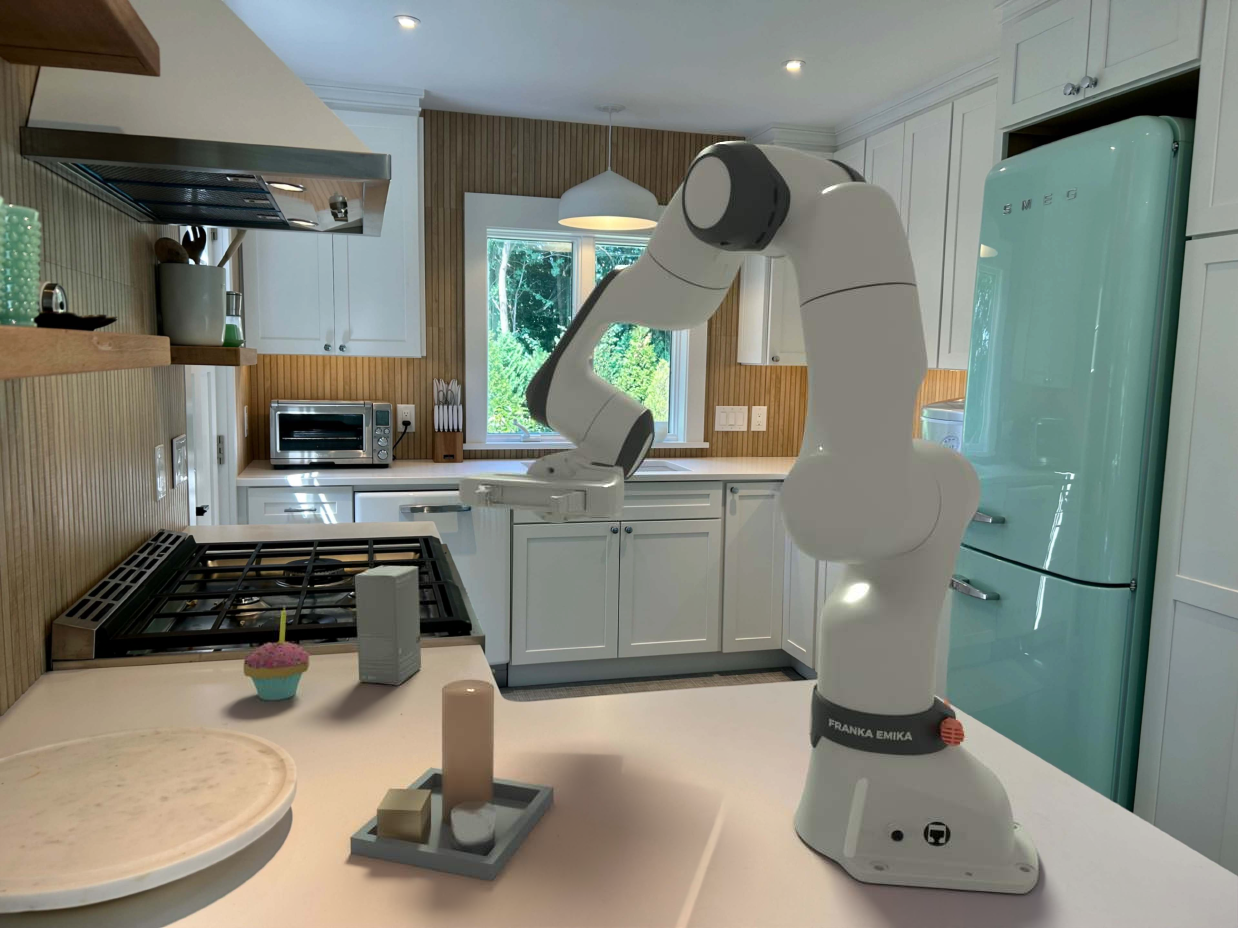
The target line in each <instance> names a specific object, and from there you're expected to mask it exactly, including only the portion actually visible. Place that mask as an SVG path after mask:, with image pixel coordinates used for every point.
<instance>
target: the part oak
mask: <svg viewBox="0 0 1238 928" xmlns="http://www.w3.org/2000/svg"><path fill="white" fill-rule="evenodd" d="M376 815H377V836H382V837H387V838H392V839H397V840H403V841H408V842H413V843H418V844H425V842H426V840H427V838H428V835H429V833H430V831H431V790H419V789H407V788H388V790H387V792H386V794H385V795H384V796H383V798H382V800H381V801H380V803H379V805H378V806H377V809H376Z"/></svg>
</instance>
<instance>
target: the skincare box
mask: <svg viewBox="0 0 1238 928" xmlns="http://www.w3.org/2000/svg"><path fill="white" fill-rule="evenodd" d="M354 583H355V586H354V587H355V605H356V606H355V609H356V631H357V632H356V634H357V637H356V638H357V656H358V658H357V660H358V661H357V662H358V681H359V682H363V683H364V682H365V683H373V684H374V683H377V684H387V685H393V686H399V685H401V684H402V683H404V682H405V681H407V679H408V678H409V677H411V676H412V675H413V674H415V673H416V672H417V671H419V670H420V669H421V668H422V652H421V651H422V650H421V649H422V648H421V629H420V627H421V626H420V625H421V624H420V623H421V621H420V618H421V617H420V596H419V595H420V594H419V593H420V591H419V590H420V589H419V587H420V586H419V566H412V565H411V566H410V565H409V566H408V565H407V566H406V565H403V566H401V565H380V566H377V567H374V568H368V569H366V570H365V571H362V572H361V573H357V574H355V575H354Z"/></svg>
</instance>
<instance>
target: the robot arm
mask: <svg viewBox="0 0 1238 928" xmlns="http://www.w3.org/2000/svg"><path fill="white" fill-rule="evenodd" d="M641 253H642V254H641V255H639V257H638V258H637V259H636V260H635V261H634V262H633V263H631V264H629V265H628V264H626V265H625V264H619V265H617V266H615V267H614V268H612V269H611V270H609V272H607V273H606V274H605V275H604V276H603V277H602V278H601V280H600V281H599V282H598V283H597V284H596V285H595V287H594V289H593V290H592V291H591V292H590V294H589V295H588V297H587V298H586V300H584V303H583V304H582V306H581V307H580V309H579V310H578V312H577V313H576V315H575V316H574V317H573V319H572V321H571V323H570V324H569V325H568V327H567V329H565V331H564V333H563V335H562V336H561V338H560V340H559V341H558V343H557V344H556V345H555V347H554V349H553V350H552V352H551V353H550V354H549V355H548V357H547V358H546V360H545V361H544V362H543V364H541V366H540V367H539V369H537V371H536V372H535V373H534V375H533V376H532V377H531V379H530V380H529V382H528V385H527V386H526V390H525V393H524V394H525V401H526V402H525V403H526V407H527V410H528V413H529V415H530V418H531V419H532V420H533V421H535V422H537V423H539V424H540V425H542V426H544V427H546V428H547V429H549V430H550V431H551V430H552V431H553V432H554V431H555V432H556V433H557V434H559V435H560V436H562V437H563V438H565V439H566V440H568V441H569V442H570V443H572V444H573V445H575V446H576V448H572V449H569V450H566V451H559V452H555V453H552V454H548V455H544V456H542V457H539V458H538V459H536V460H535V461H534V462H533V463H532V464H531V465H530V466H529V468H528V469H527V471H526V473H517V472H516V473H513V472H512V473H511V472H482V473H481V472H480V473H475V474H469V475H464V476H461V478H460V480H459V485H458V486H459V487H458V495H459V502H460V504H461V505H462V506H464V507H474V508H475V507H476V508H477V507H478V508H488V509H502V510H503V509H505V510H518V511H519V510H520V511H531V512H532V513H533V514H534V515H535V516H536V517H538V518H540V519H542V520H544V521H546V522H548V523H552V524H561V523H562V524H563V523H566V522H569V521H578V520H582V519H587V518H588V519H589V518H590V519H598V518H599V519H601V518H602V519H611V518H613V519H614V518H619V517H621V516H623V510H624V504H625V503H624V499H625V481H627V480H629V479H630V478H631V477H633V475H634V474H635V473H637V471H638V470H639V468H640V467H641V465H643V463H644V461H645V460H646V458H647V456H648V455H649V453H650V450H651V448H652V446H653V445H654V442H655V441H654V440H655V433H656V432H655V431H656V430H655V420H654V417H653V412H652V411H651V409H650V408H648V407H647V406H646V405H644V404H643V403H641V402H640V401H638V400H636V399H635V398H634V397H632V396H630V395H629V394H627V393H626V392H625V391H622V390H621V389H619V388H618V387H616V386H615V385H613V384H612V383H610V382H608V381H607V380H605V379H604V378H602V377H601V376H599V375H598V374H596V373H595V372H594V371H593V370H592V368H590V365H589V363H588V359H589V358H590V356H591V355H592V353H593V352H594V350H595V349H596V347H597V346H598V345H599V343H600V341H601V340H602V339H603V338H604V336H605V334H606V333H607V331H608V330H609V328H610V327H611V325H612V324H625V325H633V326H639V327H643V328H648V329H652V330H656V331H663V332H664V331H665V332H678V331H679V332H680V331H684V330H685V331H687V330H689V329H693V328H696V327H699V326H700V325H702V324H704V323H705V322H707V321H708V320H709V319H711V317H713V315H714V314H715V312H716V311H717V310H718V309H719V307H720V305H721V304H722V302H723V301H724V300H725V298H726V296H727V294H728V292H729V290H730V288H731V286H732V285H733V283H734V280H735V279H736V276H737V274H738V273H739V271H740V267H741V266H742V263H743V262H744V260H745V258H746V257H747V256H748V254H752V255H758V256H763V257H765V258H770V259H778V260H788V261H790V262H791V264H792V267H793V269H794V272H795V278H796V283H797V293H798V302H799V303H798V304H799V308H800V309H799V311H800V319H801V327H802V328H801V329H802V334H803V341H804V343H803V344H804V352H805V360H806V361H805V362H806V369H807V381H808V382H807V383H808V385H807V386H808V393H807V410H806V417H805V423H804V424H805V425H804V430H803V436H802V437H803V438H802V441H801V446H800V450H799V453H798V456H797V458H796V460H795V463H794V464H793V466H792V467H791V469H790V470H789V471H788V473H787V475H786V477H785V478H784V480H783V483H782V486H781V487H780V492H779V498H778V499H779V500H778V508H779V517H780V520H781V524H782V527H783V529H784V532H785V533H786V535H787V537H788V539H789V540H790V541H791V543H792V544H793V545H794V546H795V547H796V549H798V550H799V551H800V552H802V553H803V554H804V555H806V556H808V557H810V558H812V559H814V560H818V561H820V562H821V561H822V562H828V563H833V564H834V563H835V564H841V565H842V564H843V568H842V570H841V573H840V575H839V578H838V580H837V583H836V585H835V587H834V589H833V590H832V592H831V594H830V595H829V597H828V598H827V599H826V601H825V603H824V605H823V607H822V609H821V612H820V613H821V614H820V618H819V639H818V656H817V657H818V662H817V682H816V683H815V685H814V686H813V690H812V695H811V697H810V705H809V707H810V708H809V728H808V729H809V731H808V732H809V734H808V736H809V735H810V737H809V740H810V744H811V752H810V757H809V763H808V768H807V769H808V770H807V775H806V777H805V778H806V779H805V783H804V787H803V791H802V794H801V798H800V801H799V804H798V807H797V809H796V812H795V814H794V818H793V824H794V828H795V830H796V832H797V834H798V835H799V836H800V838H801V839H802V840H803V841H804V842H805V843H806V844H808V846H810V847H811V848H813V849H814V850H815V851H817V852H819V853H821V854H822V855H825V857H828V858H830V859H832V860H833V861H835V862H837V863H838V864H839V865H840V866H841V867H842V868H843V869H844V870H845V871H846V872H847V873H848V874H850V876H852V877H853V878H855V879H856V880H858V881H860V882H862V883H863V882H864V883H868V884H882V885H884V884H885V885H893V886H895V885H896V886H897V885H898V886H906V887H907V886H909V887H924V888H935V889H936V888H937V889H951V890H963V891H964V890H965V891H977V892H993V893H1003V894H1005V893H1008V894H1027V893H1029V892H1030V891H1031V890H1033V889H1034V887H1035V886H1036V884H1037V883H1038V879H1039V877H1040V875H1039V874H1040V870H1039V869H1040V868H1039V867H1040V865H1039V863H1040V862H1039V855H1038V852H1037V848H1036V845H1035V843H1034V841H1033V839H1032V837H1031V836H1030V834H1029V832H1028V831H1027V830H1026V829H1025V827H1024V826H1022V824H1021V823H1020V822H1018V821H1017V820H1016V819H1015V818H1014V815H1013V811H1012V807H1011V806H1012V805H1011V801H1010V799H1009V796H1008V794H1007V793H1008V792H1007V791H1006V789H1005V788H1004V785H1003V783H1002V782H1001V780H1000V779H999V778H998V776H997V775H996V774H995V773H994V771H993V770H991V769H990V768H989V767H987V766H986V765H985V764H984V763H983V762H981V760H979V758H977V757H975V756H974V755H973V754H972V753H971V752H969V751H968V750H967V749H966V748H965V747H964V746H962V745H961V743H963V742H964V741H965V740H964V739H965V732H964V727H963V724H962V723H961V722H960V721H959V720H958V719H957V717H956V712H955V710H954V709H952V707H951V704H950V703H949V701H948V699H946V698H944V701H943V700H941V699H939V698H938V697H936V696H935V694H936V693H935V692H936V679H937V666H938V654H939V653H938V652H939V641H940V640H939V637H940V628H941V622H942V616H943V611H944V607H945V604H946V600H947V595H948V591H949V588H950V585H951V580H952V578H953V574H954V571H955V566H956V563H957V559H958V555H959V554H960V553H959V552H960V549H961V545H962V541H963V538H964V535H965V533H966V531H967V528H968V526H969V524H970V523H971V522H972V519H973V518H974V516H975V515H976V513H977V510H978V508H979V506H980V501H981V495H982V492H981V491H982V490H981V482H980V479H979V475H978V473H977V470H976V468H975V467H974V465H973V464H972V463H971V461H970V460H969V459H968V458H967V457H966V456H965V455H963V454H962V453H960V451H959V450H956V449H953V448H952V447H950V446H947V445H945V444H942V443H939V442H936V441H932V440H929V439H925V438H914V437H913V434H914V433H913V431H914V419H915V411H916V403H917V399H918V395H919V391H920V388H921V385H922V384H923V383H924V380H925V378H926V376H927V374H928V373H927V372H928V367H929V362H928V354H927V348H926V340H925V333H924V327H923V326H924V325H923V318H922V312H921V305H920V304H921V303H920V298H919V297H920V296H919V290H918V285H917V284H918V283H917V279H916V273H915V267H914V263H913V257H912V253H911V248H910V244H909V241H908V237H907V234H906V230H905V227H904V224H903V221H902V218H901V216H900V213H899V210H898V207H897V205H896V203H895V200H894V198H893V197H892V195H890V193H889V192H887V191H886V189H884V188H882V187H880V186H879V185H876V184H873V183H869V182H867V181H866V179H865V178H864V177H863V175H861V174H860V173H859V172H858V171H857V170H856V169H854V168H852V167H851V166H849V164H845V163H843V162H841V161H839V160H836V159H831V158H829V159H828V158H827V159H826V158H823V157H820V156H817V155H815V154H812V153H807V152H804V151H801V150H798V149H797V148H793V147H789V146H783V145H782V146H781V145H774V144H757V143H756V144H755V143H752V142H750V141H746V140H730V141H722V142H717V143H715V144H711V145H709V146H707V147H705V148H704V149H702V150H701V151H700V152H699V153H698V154H697V155H696V157H695V158H694V159H693V161H692V162H691V164H690V165H689V168H688V170H687V172H686V175H685V178H684V181H683V182H682V183H681V185H680V186H679V187H678V188H677V190H676V192H675V193H674V195H673V196H672V197H671V199H670V200H669V203H668V204H667V206H666V207H665V209H664V211H663V212H662V214H661V216H660V218H659V220H658V221H657V224H656V225H655V228H654V230H653V232H652V234H651V236H650V238H649V239H648V242H647V245H646V247H645V249H644V251H643V252H641Z"/></svg>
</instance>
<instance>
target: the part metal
mask: <svg viewBox="0 0 1238 928" xmlns="http://www.w3.org/2000/svg"><path fill="white" fill-rule="evenodd" d="M495 813H496V810H495V807H494V806H493V805H492V804H490V803H488V802H484V801H468V802H463V803H460V804H458V805H456V806H455V807H454V808H453V809H452V810H451V850H455V851H460V852H466V853H471V854H476V855H482V856H487V855H488V854H489V853H490V852H491V850H492V849H493V848H494V847H495Z"/></svg>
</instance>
